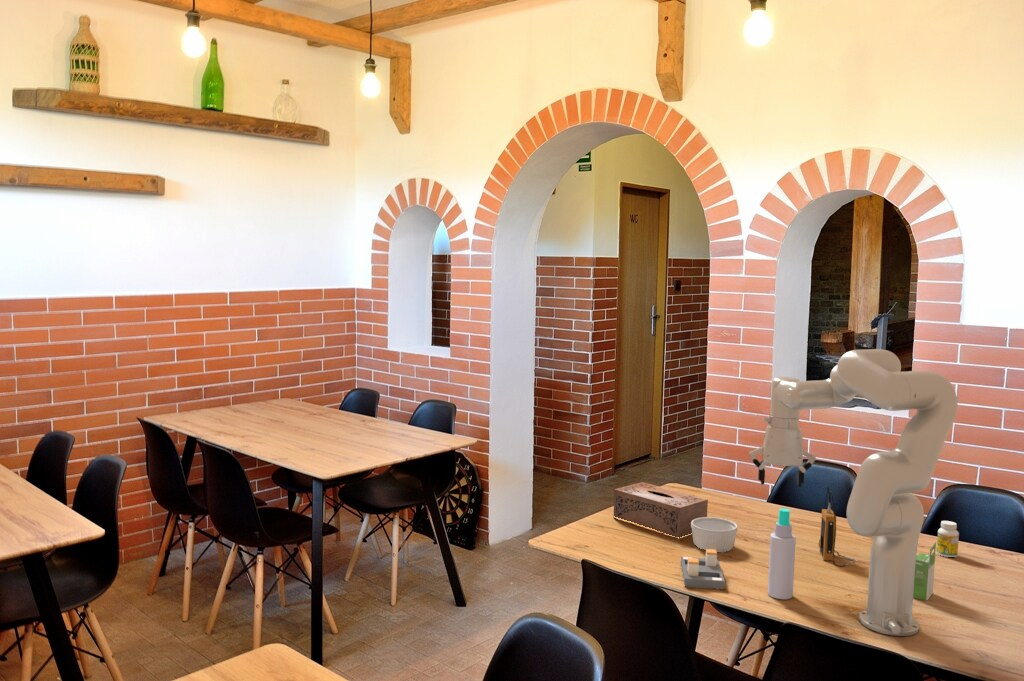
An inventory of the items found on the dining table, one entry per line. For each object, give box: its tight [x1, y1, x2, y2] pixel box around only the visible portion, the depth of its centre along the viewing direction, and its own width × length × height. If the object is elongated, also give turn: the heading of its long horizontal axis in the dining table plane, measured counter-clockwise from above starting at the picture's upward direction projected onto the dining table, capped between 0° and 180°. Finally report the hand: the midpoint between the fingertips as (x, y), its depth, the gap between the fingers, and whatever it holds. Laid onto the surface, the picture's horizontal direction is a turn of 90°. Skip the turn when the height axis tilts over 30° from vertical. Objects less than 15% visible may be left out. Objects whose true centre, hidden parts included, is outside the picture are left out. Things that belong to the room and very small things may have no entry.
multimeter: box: [818, 486, 861, 568], centre depth 232 cm, size 15×10×20 cm
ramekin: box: [691, 516, 738, 553], centre depth 240 cm, size 13×13×7 cm
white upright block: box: [687, 557, 699, 576], centre depth 213 cm, size 3×3×5 cm
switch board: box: [680, 556, 726, 590], centre depth 217 cm, size 16×10×2 cm, turn 172°
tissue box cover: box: [613, 481, 709, 538], centre depth 260 cm, size 26×14×10 cm, turn 42°
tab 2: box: [705, 549, 718, 566], centre depth 220 cm, size 3×3×5 cm
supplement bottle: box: [936, 520, 960, 558], centre depth 237 cm, size 5×5×10 cm
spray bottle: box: [767, 508, 797, 600], centre depth 204 cm, size 6×6×22 cm
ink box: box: [913, 541, 937, 602], centre depth 207 cm, size 7×4×13 cm, turn 141°
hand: (780, 484), depth 223 cm, fingers open, 9 cm apart
